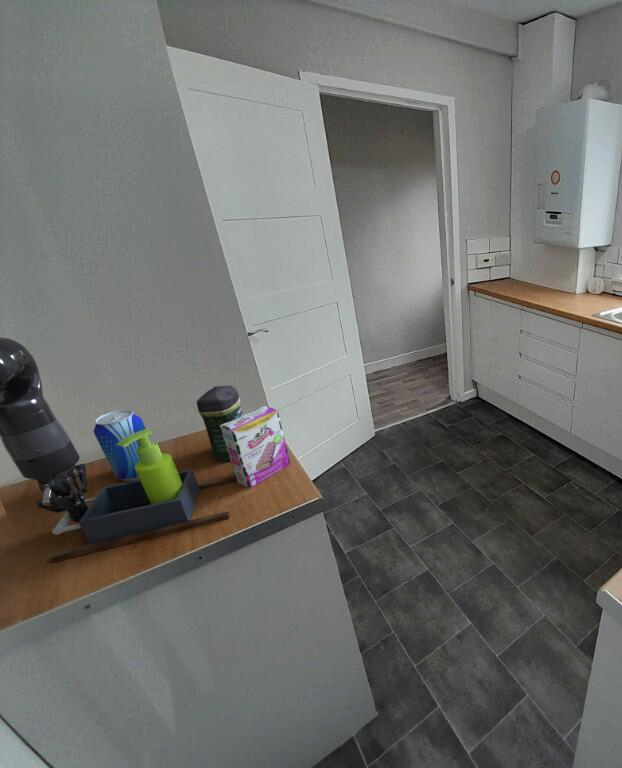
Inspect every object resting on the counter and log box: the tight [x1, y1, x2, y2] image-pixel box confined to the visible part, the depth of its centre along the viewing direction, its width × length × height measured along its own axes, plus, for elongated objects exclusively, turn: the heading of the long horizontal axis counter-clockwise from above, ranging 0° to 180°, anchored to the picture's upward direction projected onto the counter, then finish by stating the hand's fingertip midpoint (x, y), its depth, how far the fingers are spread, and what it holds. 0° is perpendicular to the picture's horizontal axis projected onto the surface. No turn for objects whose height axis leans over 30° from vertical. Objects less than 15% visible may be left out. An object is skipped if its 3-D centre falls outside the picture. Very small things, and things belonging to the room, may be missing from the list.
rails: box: [48, 475, 237, 563], centre depth 87 cm, size 28×15×1 cm, turn 115°
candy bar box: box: [220, 405, 291, 490], centre depth 97 cm, size 11×5×16 cm, turn 154°
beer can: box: [93, 409, 153, 482], centre depth 97 cm, size 8×8×16 cm
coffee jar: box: [196, 385, 244, 463], centre depth 105 cm, size 10×8×19 cm
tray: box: [51, 468, 201, 545], centre depth 85 cm, size 20×12×6 cm, turn 115°
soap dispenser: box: [116, 428, 182, 505], centre depth 84 cm, size 6×7×20 cm
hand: (83, 519), depth 82 cm, fingers closed
